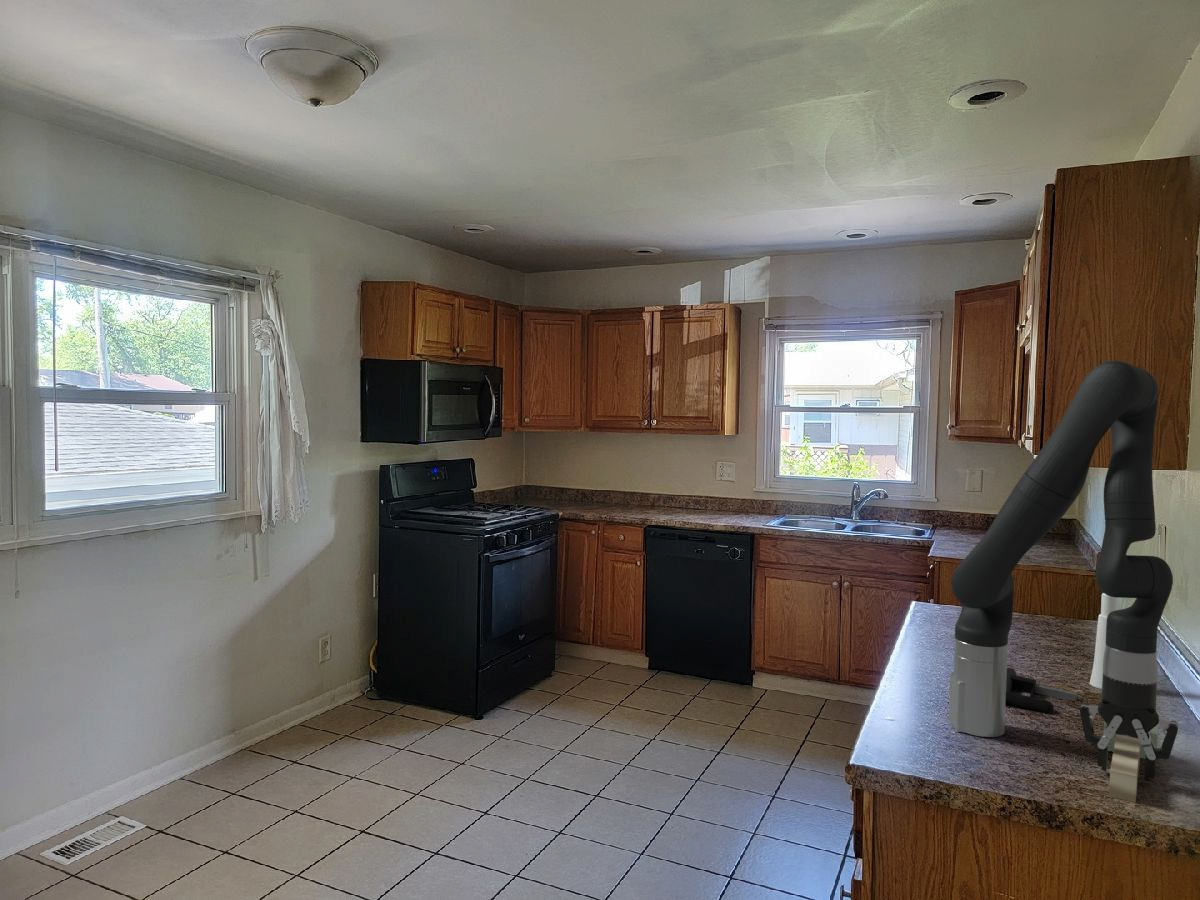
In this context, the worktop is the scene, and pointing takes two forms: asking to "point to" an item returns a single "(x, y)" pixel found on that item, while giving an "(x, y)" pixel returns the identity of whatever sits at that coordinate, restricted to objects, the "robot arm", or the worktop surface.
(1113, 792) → the bar
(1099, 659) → the cosmetic bottle
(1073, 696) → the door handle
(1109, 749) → the ridge
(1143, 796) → the worktop surface
